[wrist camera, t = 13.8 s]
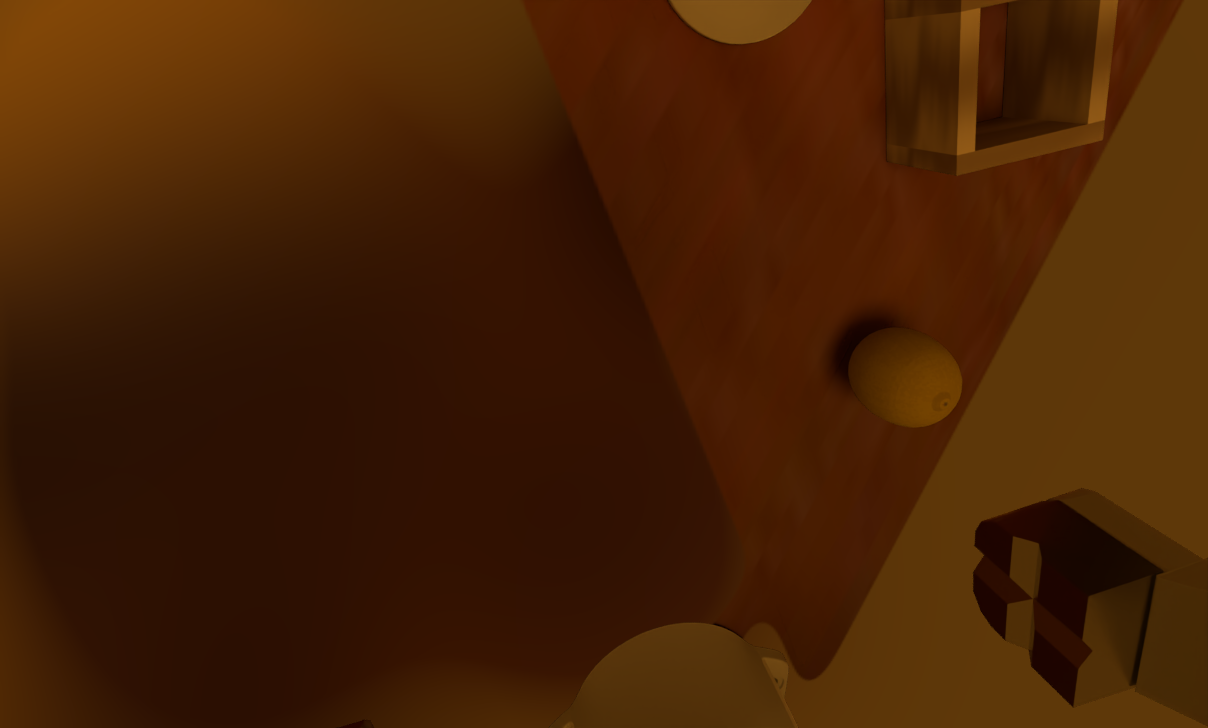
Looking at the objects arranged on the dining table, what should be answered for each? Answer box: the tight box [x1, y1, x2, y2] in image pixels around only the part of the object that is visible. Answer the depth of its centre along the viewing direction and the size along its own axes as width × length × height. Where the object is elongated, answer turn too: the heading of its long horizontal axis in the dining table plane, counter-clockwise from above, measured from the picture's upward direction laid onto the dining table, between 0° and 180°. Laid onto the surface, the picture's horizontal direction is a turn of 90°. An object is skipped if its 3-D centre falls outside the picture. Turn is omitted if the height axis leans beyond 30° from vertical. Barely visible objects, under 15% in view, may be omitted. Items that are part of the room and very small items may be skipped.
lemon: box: [848, 327, 962, 427], centre depth 42 cm, size 6×6×8 cm
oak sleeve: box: [885, 0, 1118, 176], centre depth 37 cm, size 8×8×6 cm
